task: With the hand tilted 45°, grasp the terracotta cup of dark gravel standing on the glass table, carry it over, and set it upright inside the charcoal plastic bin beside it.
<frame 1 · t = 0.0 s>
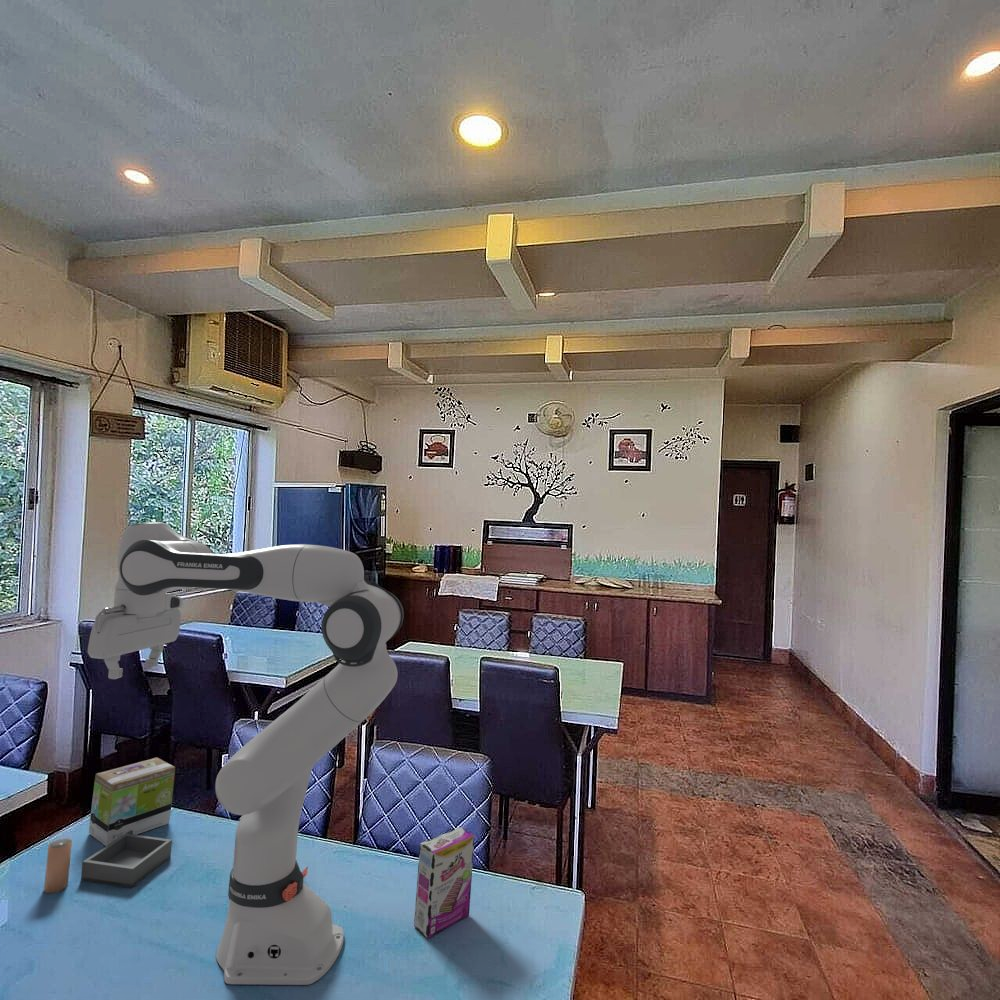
hand: (133, 672, 114), 48 cm above the table, tool pointing down, fingers open, 8 cm apart
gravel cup: (56, 887, 121), on the table
candy box: (262, 857, 136), on the table
tea box: (130, 829, 145), on the table
candy bar box: (442, 922, 117), on the table
charcoal bin: (127, 868, 129), on the table
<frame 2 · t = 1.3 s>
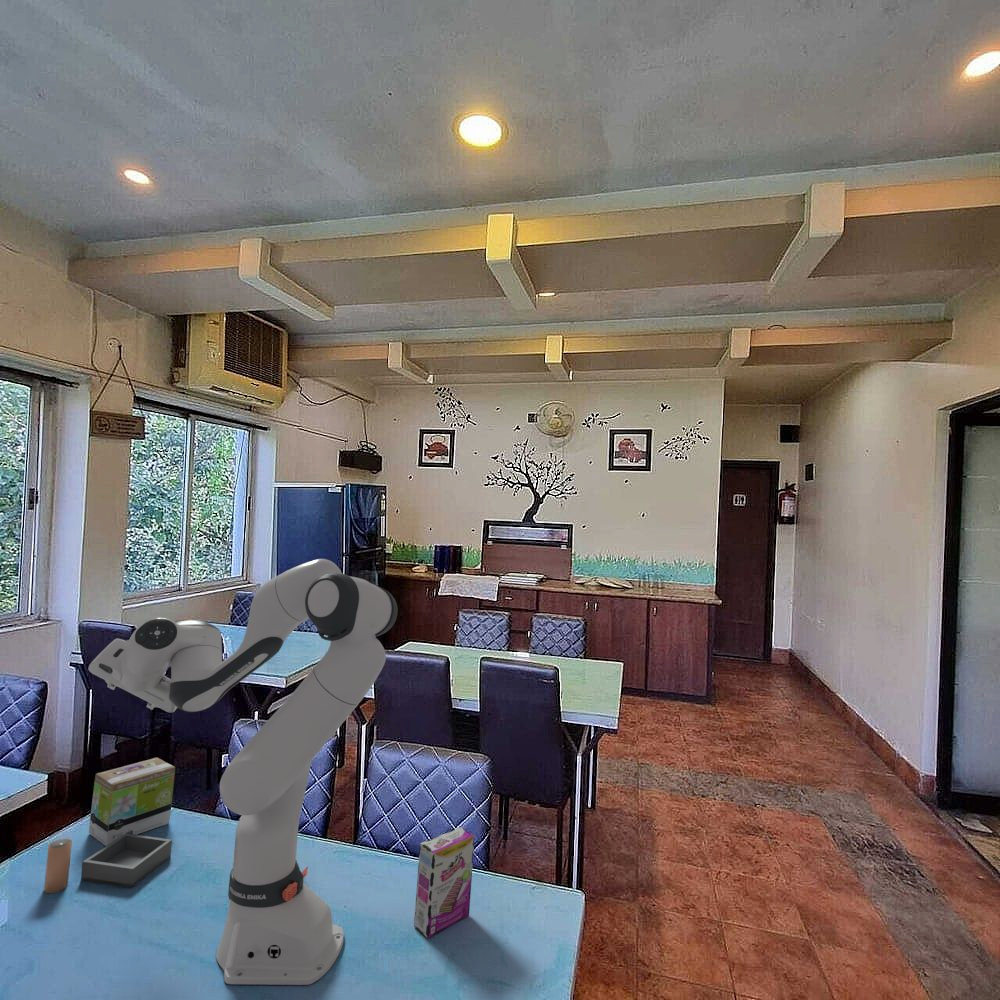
hand: (132, 695, 131), 38 cm above the table, tool tilted 50°, fingers open, 8 cm apart
nothing on the table moved.
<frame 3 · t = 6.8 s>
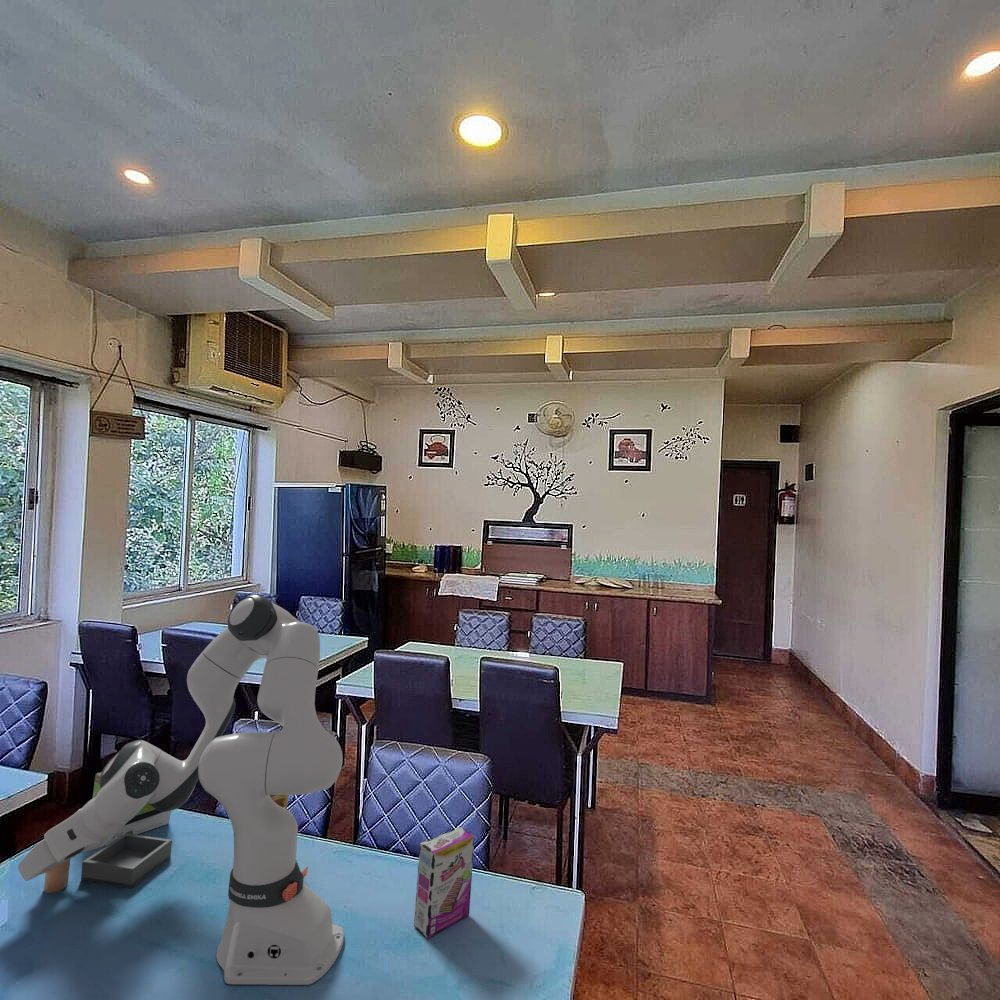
hand: (56, 862, 122), 5 cm above the table, tool tilted 45°, fingers closed on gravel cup, 4 cm apart
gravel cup: (56, 887, 121), on the table, touching gripper
everything else where it was.
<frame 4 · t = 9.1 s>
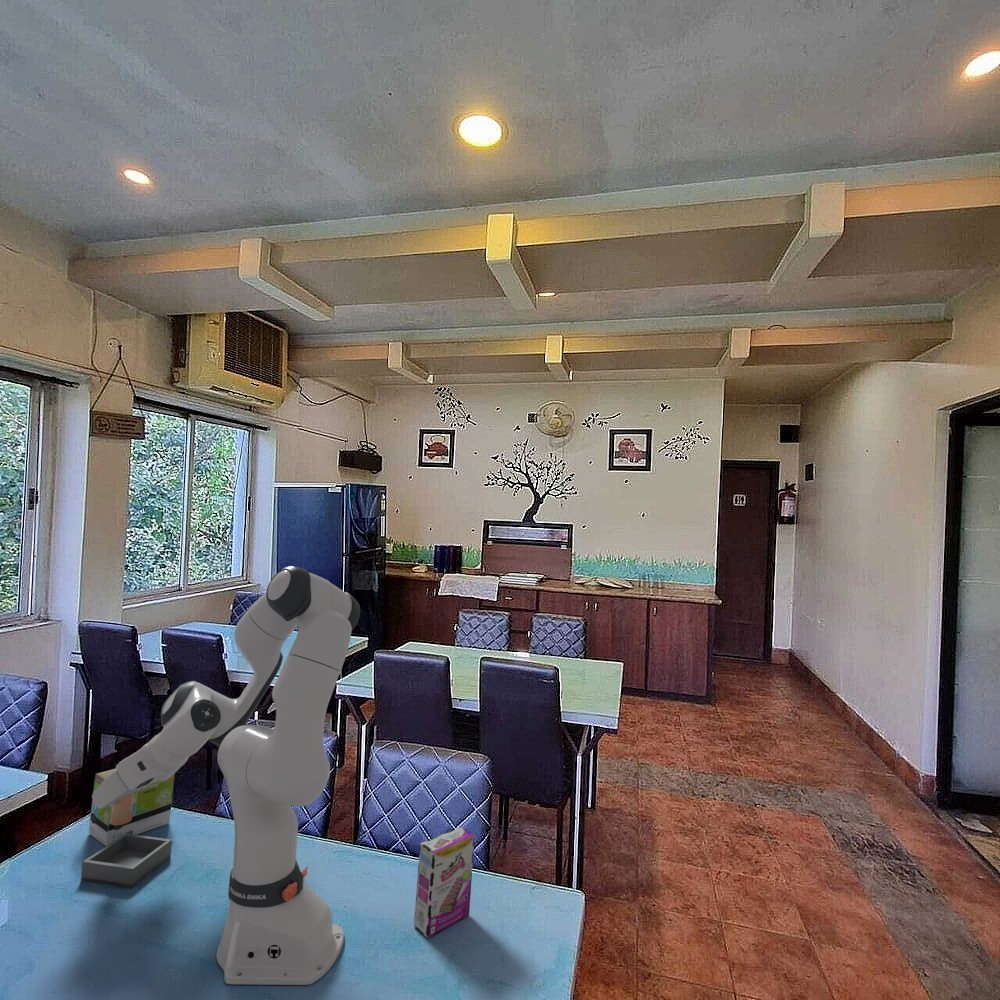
hand: (121, 797, 128), 16 cm above the table, tool tilted 45°, fingers closed on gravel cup, 4 cm apart
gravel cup: (121, 820, 128), point 11 cm above the table, touching gripper
everything else where it was.
when the fingers open (8 cm above the table, at t = 11.3 s): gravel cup drops 2 cm, resting on charcoal bin.
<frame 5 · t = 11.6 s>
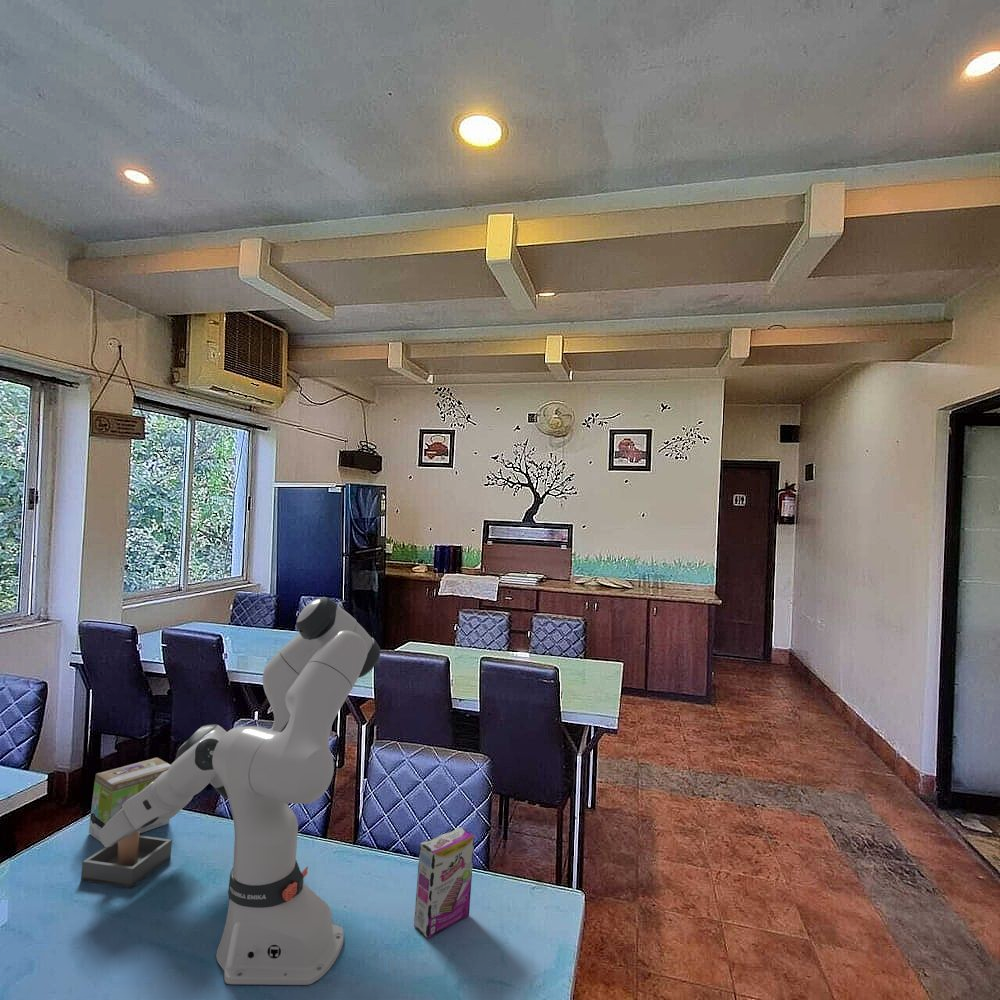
hand: (128, 833, 130), 8 cm above the table, tool tilted 45°, fingers open, 7 cm apart
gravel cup: (127, 864, 129), point 1 cm above the table, touching charcoal bin
candy box: (262, 857, 136), on the table, touching arm
everything else where it was.
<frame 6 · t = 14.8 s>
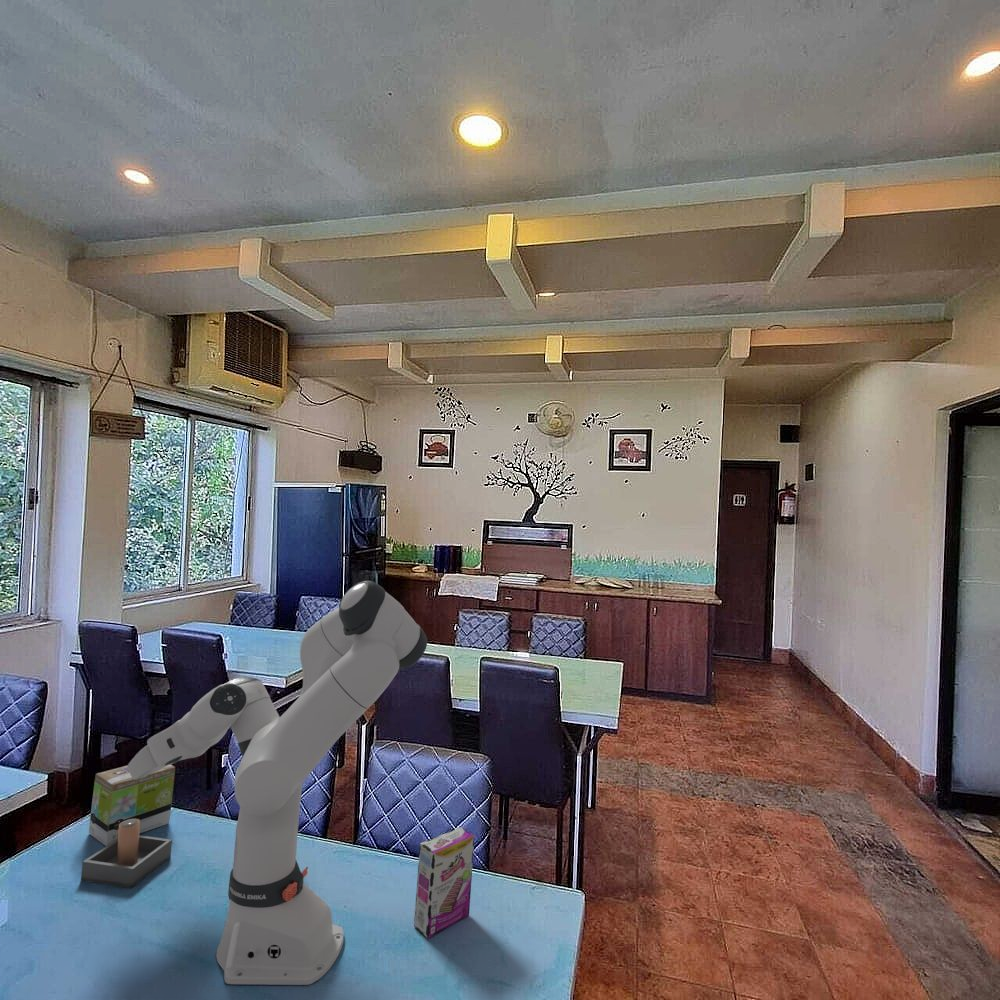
hand: (164, 764, 132), 23 cm above the table, tool tilted 50°, fingers open, 8 cm apart
candy box: (262, 857, 136), on the table
everything else where it was.
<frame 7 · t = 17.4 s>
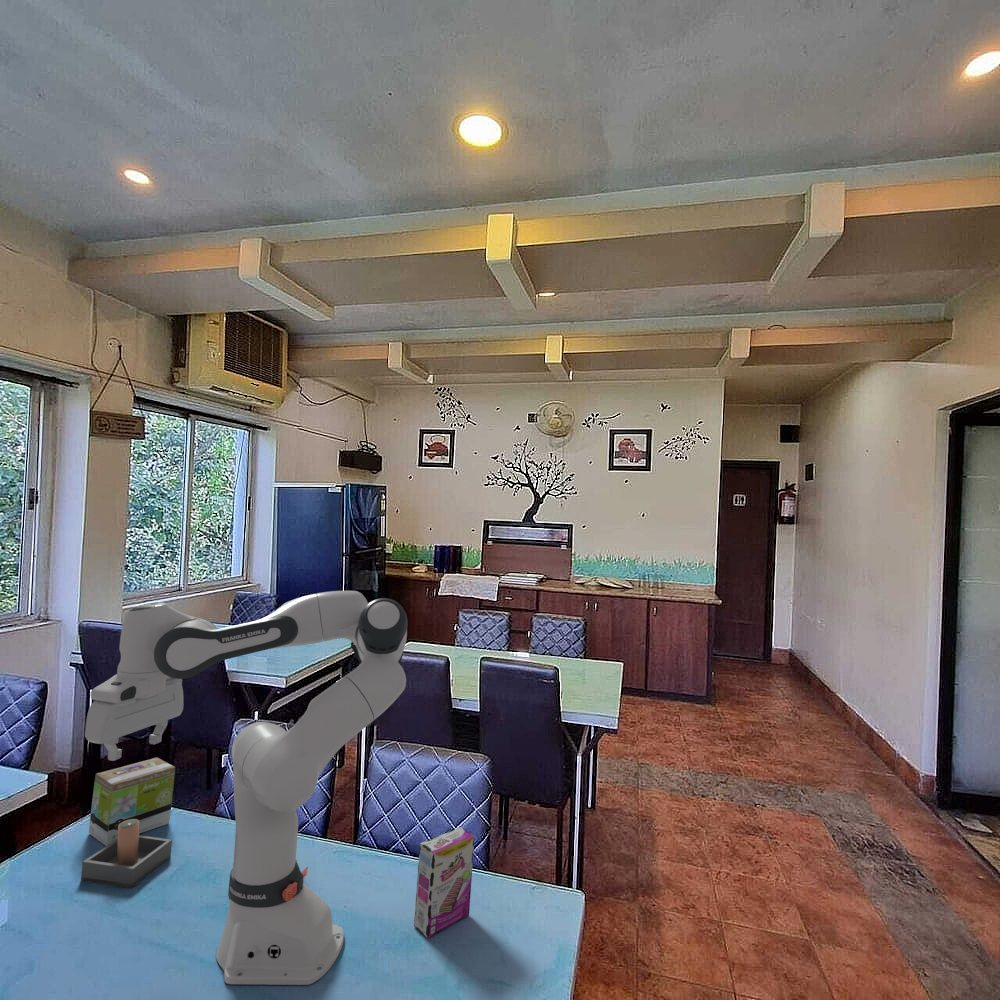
hand: (135, 750, 118), 31 cm above the table, tool pointing down, fingers open, 8 cm apart
nothing on the table moved.
at the end: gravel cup inside the target area on the charcoal bin (0.2 cm from its centre), point 0.9 cm above the charcoal bin's base; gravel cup tilted 3°; the gripper is holding nothing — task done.
